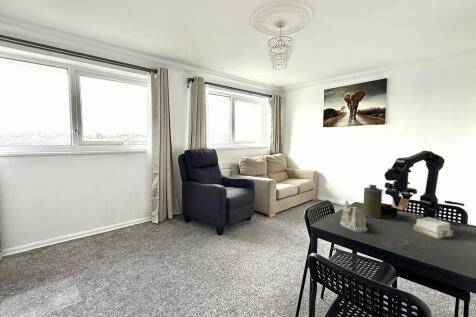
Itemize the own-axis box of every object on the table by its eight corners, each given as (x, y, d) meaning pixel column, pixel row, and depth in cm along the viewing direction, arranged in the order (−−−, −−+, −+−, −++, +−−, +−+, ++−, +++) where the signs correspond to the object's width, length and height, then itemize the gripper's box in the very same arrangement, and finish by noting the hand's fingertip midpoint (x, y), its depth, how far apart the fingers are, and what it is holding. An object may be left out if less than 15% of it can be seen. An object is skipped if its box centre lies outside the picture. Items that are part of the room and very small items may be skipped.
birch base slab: (427, 228, 134) (428, 222, 134) (452, 236, 123) (453, 230, 123) (413, 230, 130) (413, 224, 130) (437, 239, 119) (437, 233, 119)
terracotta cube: (398, 205, 142) (399, 197, 141) (407, 208, 136) (408, 199, 136) (392, 206, 140) (392, 197, 139) (401, 209, 135) (401, 200, 134)
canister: (361, 215, 152) (362, 185, 150) (363, 211, 161) (365, 182, 159) (380, 219, 146) (382, 187, 144) (382, 214, 154) (384, 185, 152)
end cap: (397, 214, 155) (398, 204, 155) (397, 217, 150) (398, 207, 149) (379, 211, 161) (380, 202, 160) (379, 214, 155) (379, 204, 154)
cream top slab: (428, 222, 133) (429, 216, 132) (449, 229, 123) (450, 223, 123) (416, 225, 129) (416, 218, 129) (436, 232, 120) (437, 225, 120)
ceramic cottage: (356, 233, 125) (358, 205, 125) (334, 223, 141) (336, 198, 140) (377, 231, 130) (380, 204, 130) (354, 221, 146) (356, 198, 145)
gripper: (400, 176, 147) (398, 200, 149) (377, 178, 141) (376, 203, 143) (418, 179, 137) (416, 206, 138) (395, 181, 131) (393, 209, 132)
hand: (400, 205), depth 138 cm, fingers closed on terracotta cube, 5 cm apart
